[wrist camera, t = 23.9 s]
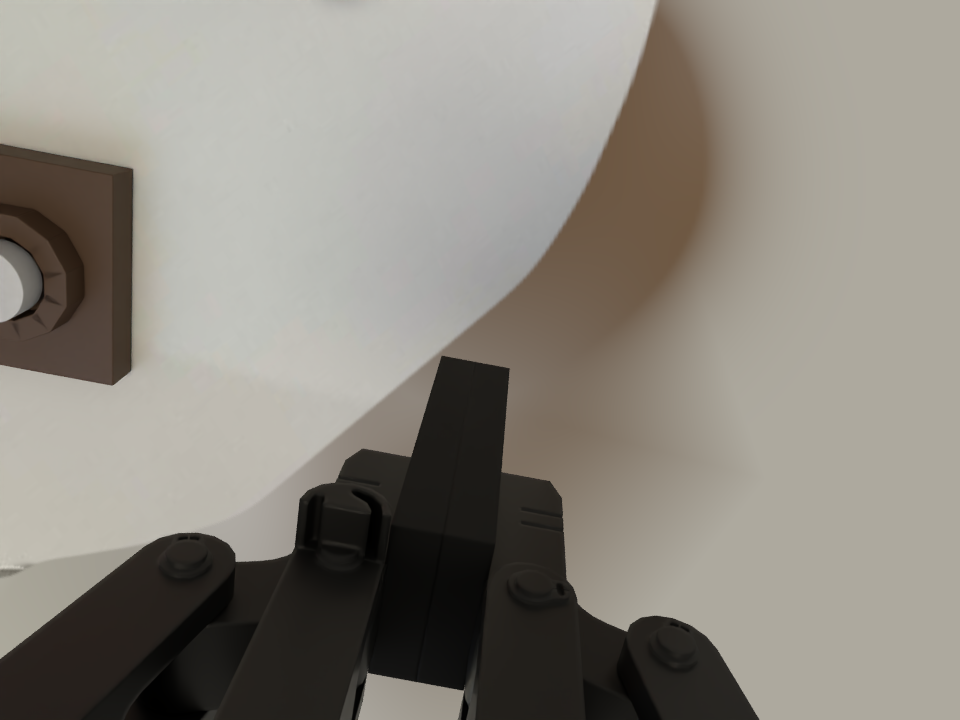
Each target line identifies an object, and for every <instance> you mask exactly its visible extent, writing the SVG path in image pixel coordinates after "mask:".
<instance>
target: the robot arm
mask: <svg viewBox="0 0 960 720" xmlns="http://www.w3.org/2000/svg"><path fill="white" fill-rule="evenodd" d="M508 381H509V368H505V367H499V366H494V365H488V364H483V363H477V362H472V361H467V360H462V359H456V358H451V357H445V356H442V357H441V360H440V364H439V367H438V370H437V374H436V377H435V380H434V384H433V387H432V390H431V393H430V397H429V400H428V403H427V407H426V411H425V413H424V417H423V420H422V423H421V427H420V430H419V433H418V437H417V440H416V443H415V447H414V450H413V453H412V456H411V457H406V456H400V455H395V454H390V453H384V452H379V451H373V450H368V449H361V450H360V451H358V452H357V453H355V454H354V455H352V456H351V457H349V458H348V459H347V460H345V463H344V465H343V467H342V469H341V471H340V474H339V476H338V479H337V480H336V482H335V483H330V484H323V485H319V486H317V487H315V488H312V489H310V490H308V491H307V492H306V493H305V494H304V495H303V496H302V497H301V498H300V502H299V512H298V522H297V531H296V541H295V548H294V550H293V552H292V554H290V555H288V556H285V557H281V558H278V559H274V560H265V561H252V562H235V553H234V551H233V550H232V549H231V547H230V546H229V545H228V544H227V543H226V542H224V541H222V540H220V539H218V538H216V537H215V536H210V535H205V534H201V533H178V534H174V535H170V536H166V537H162V538H159V539H157V540H155V541H154V542H152V543H150V544H148V545H146V546H145V547H143V548H142V549H141V550H140V551H138V552H137V553H136V554H134V555H133V556H132V557H131V558H130V559H128V560H127V561H125V562H124V563H123V564H122V565H120V566H119V567H118V568H117V569H115V570H114V571H113V572H111V573H110V574H109V575H108V576H106V577H105V578H104V579H102V580H101V581H100V582H99V583H97V584H96V585H95V586H94V587H92V588H91V589H90V590H88V591H87V592H86V593H84V594H83V595H82V596H81V597H79V598H78V599H77V600H75V601H74V602H73V603H72V604H70V605H69V606H68V607H67V608H65V609H64V610H63V611H61V612H60V613H59V614H58V615H56V616H55V617H54V618H53V619H51V620H50V621H49V622H47V623H46V624H45V625H43V626H42V627H41V628H40V629H38V630H37V631H36V632H34V633H33V634H32V635H31V636H29V637H28V638H27V639H25V640H24V641H23V642H22V643H20V644H19V645H18V646H16V648H14V649H13V650H12V651H10V652H9V653H7V654H6V655H5V656H4V657H2V658H1V659H0V720H358V717H359V713H360V709H361V706H362V702H363V696H364V690H365V683H366V677H367V672H368V673H371V674H376V675H382V676H387V677H393V678H398V679H404V680H409V681H414V682H420V683H425V684H431V685H436V686H441V687H447V688H452V689H457V690H464V687H465V690H464V695H463V700H462V704H461V709H460V713H459V718H458V720H759V718H758V717H757V715H756V714H755V712H754V710H753V708H752V707H751V705H750V703H749V702H748V700H747V698H746V697H745V695H744V694H743V692H742V690H741V688H740V687H739V685H738V683H737V682H736V680H735V678H734V677H733V675H732V673H731V672H730V670H729V668H728V667H727V665H726V663H725V662H724V660H723V658H722V657H721V655H720V653H719V652H718V650H717V649H716V647H715V646H714V645H713V644H712V643H711V642H710V641H709V639H708V638H707V637H706V636H705V635H703V634H702V633H700V632H699V631H698V630H696V629H695V628H694V627H692V626H690V625H688V624H686V623H683V622H681V621H678V620H676V619H673V618H667V617H661V616H650V617H642V618H640V619H638V620H637V621H635V622H633V623H632V624H631V625H630V627H629V629H628V632H626V631H624V630H621V629H619V628H616V627H614V626H612V625H609V624H607V623H605V622H603V621H601V620H599V619H597V618H595V617H593V616H592V615H590V614H589V613H588V612H586V611H585V610H584V609H582V608H581V607H580V605H578V603H577V597H576V594H575V591H574V589H573V587H572V586H571V585H570V583H569V582H568V581H567V580H566V563H565V546H564V532H563V518H562V516H563V511H562V498H561V496H560V495H559V494H558V492H557V491H556V489H555V488H554V487H553V485H552V484H551V482H550V481H546V480H540V479H535V478H529V477H524V476H519V475H513V474H508V473H502V472H501V468H502V456H503V444H504V431H505V419H506V406H507V394H508ZM368 668H369V669H368Z"/></svg>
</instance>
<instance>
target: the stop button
mask: <svg viewBox="0 0 960 720" xmlns="http://www.w3.org/2000/svg"><path fill="white" fill-rule="evenodd" d="M42 288H43V281H42V275H41V272H40V269H39V267H38V265H37V263H36V262H35V260H34V259H33V258H32V256H31V255H30V254H29V253H28V252H27V251H26V250H24V249H23V248H22V247H20V246H19V245H17V244H15V243H13V242H10V241H7V240H3V239H0V322H4V321H7V320H9V319H11V318H13V317H15V316H17V315H19V314H21V313H23V312H25V311H27V310H28V309H30V308H32V307H33V306H34V305H35V304H36V303H37V301H38V300H39V298H40V296H41V293H42Z"/></svg>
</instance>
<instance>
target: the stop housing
mask: <svg viewBox="0 0 960 720" xmlns="http://www.w3.org/2000/svg"><path fill="white" fill-rule="evenodd" d="M0 239H3V240H7V241H10V242H13V243H15V244H17V245H19V246H20V247H22V248H23V249H24V250H26V251H27V252H28V253H29V254H30V255H31V256H32V258H33V259H34V260H35V262H36V263H37V265H38V267H39V269H40V272H41V275H42V281H43V288H42V293H41V296H40V298H39V300H38V301H37V303H36V304H35V305H34V306H33V307H32V308H30V309H28V310H27V311H25V312H23V313H21V314H19V315H17V316H15V317H13V318H11V319H9V320H7V321H4V322H0V365H5V366H10V367H15V368H21V369H26V370H31V371H37V372H42V373H48V374H53V375H58V376H64V377H69V378H74V379H80V380H85V381H91V382H96V383H101V384H107V385H114V384H115V383H117V382H118V381H119V380H120V379H121V378H123V377H124V376H125V375H126V374H128V373H129V372H130V370H131V263H132V169H129V168H123V167H118V166H113V165H107V164H102V163H97V162H91V161H86V160H81V159H75V158H70V157H65V156H59V155H54V154H49V153H43V152H38V151H33V150H27V149H22V148H17V147H11V146H6V145H1V144H0Z"/></svg>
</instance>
